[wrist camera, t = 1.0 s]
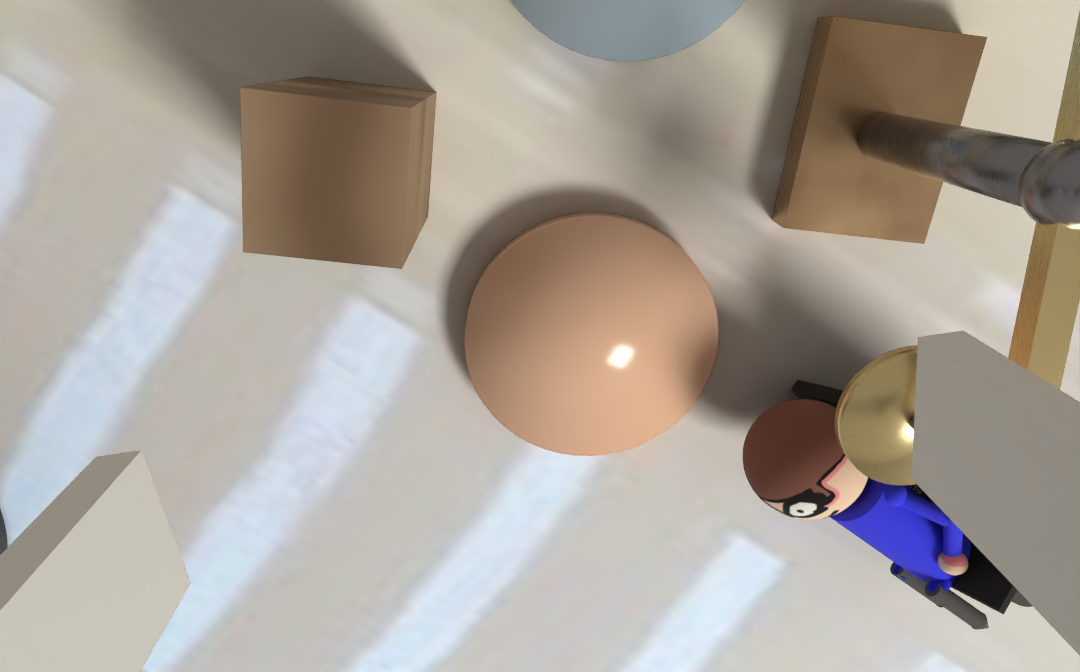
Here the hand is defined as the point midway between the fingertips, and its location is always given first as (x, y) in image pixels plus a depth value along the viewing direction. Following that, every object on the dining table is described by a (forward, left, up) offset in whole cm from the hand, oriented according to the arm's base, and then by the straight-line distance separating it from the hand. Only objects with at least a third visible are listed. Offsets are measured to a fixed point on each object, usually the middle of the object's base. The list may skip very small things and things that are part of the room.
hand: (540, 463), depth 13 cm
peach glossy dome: (+3, -5, -20) cm, 21 cm away
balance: (+13, +5, -20) cm, 25 cm away
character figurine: (+18, -10, -21) cm, 29 cm away
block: (-7, +2, -20) cm, 21 cm away
